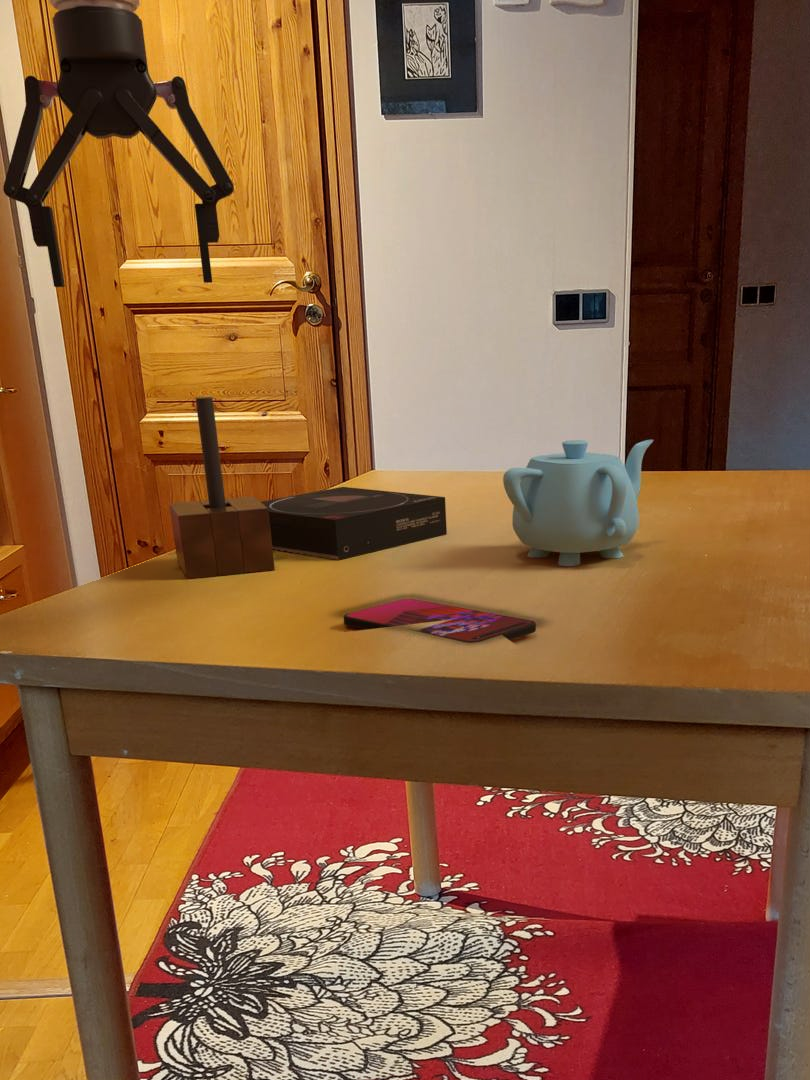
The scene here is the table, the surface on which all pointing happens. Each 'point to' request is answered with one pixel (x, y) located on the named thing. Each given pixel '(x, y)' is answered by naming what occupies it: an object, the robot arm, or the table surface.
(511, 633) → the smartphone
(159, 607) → the table surface
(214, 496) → the stylus
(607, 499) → the teapot
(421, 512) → the portable cd player
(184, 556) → the pen stand
